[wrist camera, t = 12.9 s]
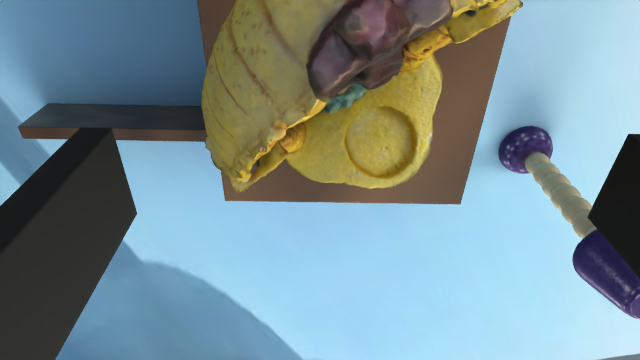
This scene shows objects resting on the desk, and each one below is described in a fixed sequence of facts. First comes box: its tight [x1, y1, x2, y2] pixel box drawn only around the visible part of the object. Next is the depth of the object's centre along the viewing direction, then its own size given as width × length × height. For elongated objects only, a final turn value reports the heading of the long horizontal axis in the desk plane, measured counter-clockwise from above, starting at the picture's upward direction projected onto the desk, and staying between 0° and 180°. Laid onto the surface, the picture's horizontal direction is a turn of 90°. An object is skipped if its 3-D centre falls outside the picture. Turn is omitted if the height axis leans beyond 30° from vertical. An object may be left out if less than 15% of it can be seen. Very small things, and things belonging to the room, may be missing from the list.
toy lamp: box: [499, 126, 640, 319], centre depth 28 cm, size 5×5×17 cm
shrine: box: [201, 0, 523, 192], centre depth 13 cm, size 12×8×15 cm
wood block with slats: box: [18, 0, 511, 204], centre depth 24 cm, size 30×18×11 cm, turn 89°
